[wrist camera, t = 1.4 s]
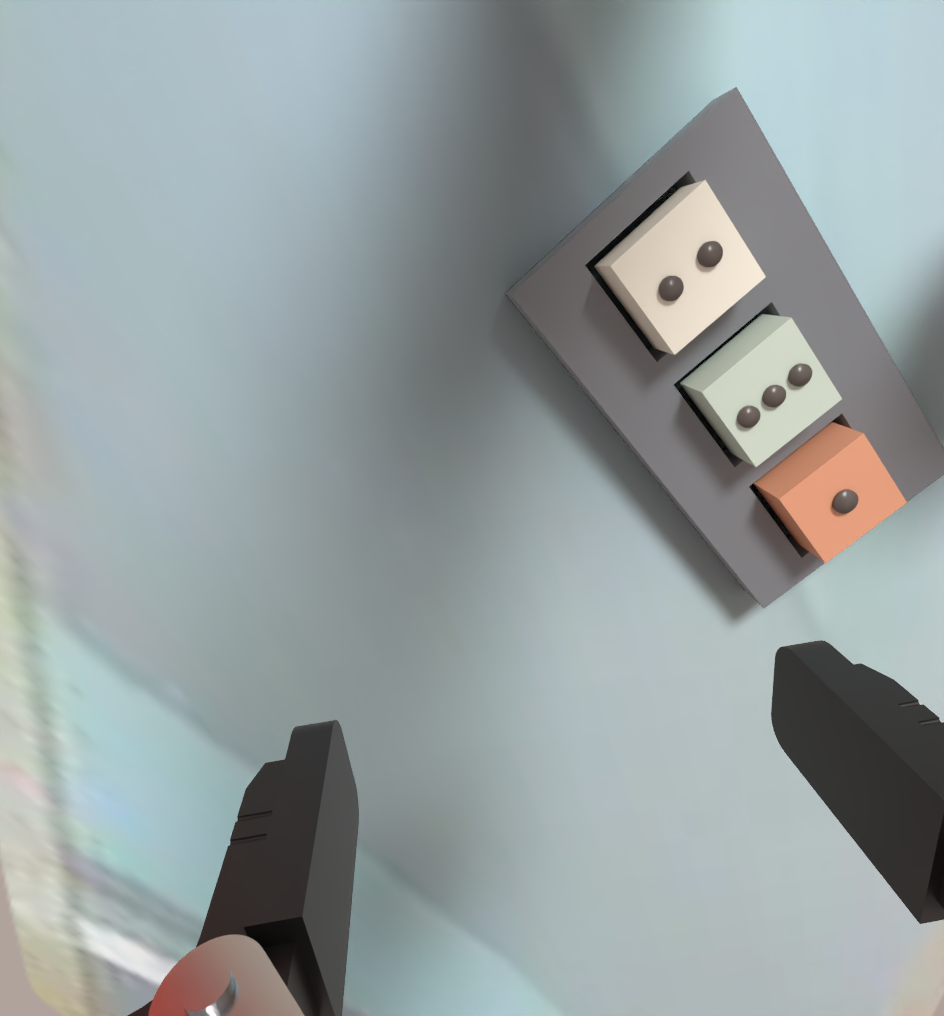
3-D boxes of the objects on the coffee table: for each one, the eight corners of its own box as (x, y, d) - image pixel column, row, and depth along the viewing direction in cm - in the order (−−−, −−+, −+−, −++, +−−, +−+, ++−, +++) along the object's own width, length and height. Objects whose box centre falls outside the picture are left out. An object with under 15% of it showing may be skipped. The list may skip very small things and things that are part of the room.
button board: (713, 99, 27) (736, 86, 25) (924, 456, 34) (953, 467, 32) (504, 293, 29) (511, 295, 27) (745, 591, 36) (764, 608, 34)
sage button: (762, 313, 29) (793, 317, 27) (810, 389, 31) (845, 399, 28) (679, 383, 30) (703, 393, 27) (731, 453, 31) (758, 468, 29)
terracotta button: (831, 421, 31) (866, 434, 29) (873, 486, 33) (910, 503, 30) (753, 483, 32) (781, 500, 30) (797, 543, 34) (828, 565, 31)
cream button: (680, 187, 27) (707, 179, 24) (737, 276, 28) (768, 277, 26) (593, 266, 27) (611, 265, 25) (654, 348, 29) (676, 355, 27)
